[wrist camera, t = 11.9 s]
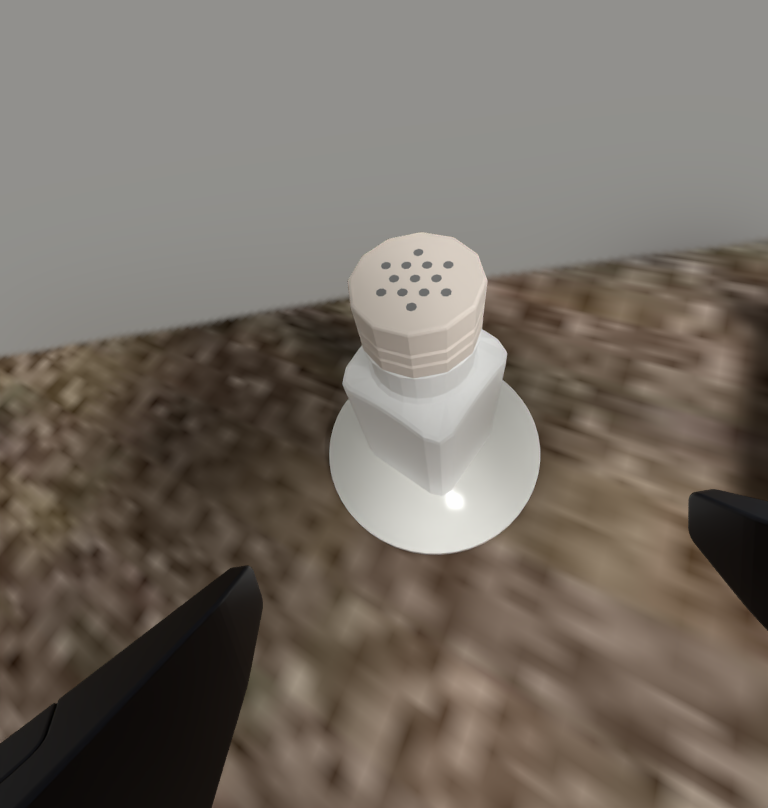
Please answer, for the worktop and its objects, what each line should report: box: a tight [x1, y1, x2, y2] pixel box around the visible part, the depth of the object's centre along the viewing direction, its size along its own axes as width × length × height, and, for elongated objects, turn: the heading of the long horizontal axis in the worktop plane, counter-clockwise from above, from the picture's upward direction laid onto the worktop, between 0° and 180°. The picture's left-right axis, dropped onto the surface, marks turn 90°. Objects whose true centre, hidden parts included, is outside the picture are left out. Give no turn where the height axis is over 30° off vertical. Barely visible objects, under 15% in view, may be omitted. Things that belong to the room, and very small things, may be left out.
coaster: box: [329, 380, 540, 555], centre depth 18 cm, size 9×9×1 cm
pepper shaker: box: [342, 232, 507, 496], centre depth 13 cm, size 4×4×10 cm
